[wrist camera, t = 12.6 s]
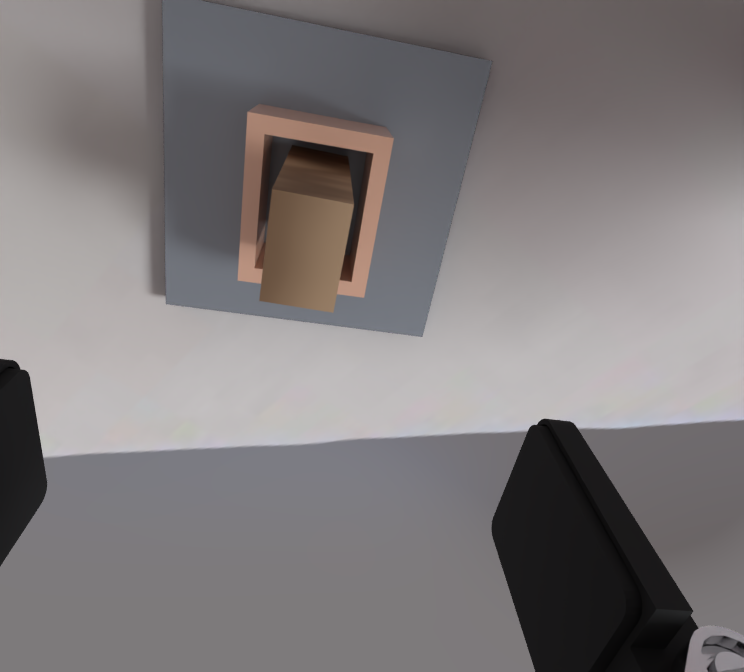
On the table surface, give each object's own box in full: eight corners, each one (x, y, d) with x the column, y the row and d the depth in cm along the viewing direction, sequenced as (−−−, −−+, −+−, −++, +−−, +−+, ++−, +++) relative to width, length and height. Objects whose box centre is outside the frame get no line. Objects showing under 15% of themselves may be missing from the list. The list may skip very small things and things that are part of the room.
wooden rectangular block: (348, 156, 28) (354, 204, 19) (333, 236, 30) (333, 312, 21) (292, 144, 27) (272, 188, 19) (281, 226, 29) (259, 300, 21)
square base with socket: (487, 60, 27) (522, 62, 22) (420, 329, 34) (434, 376, 29) (168, -6, 25) (125, -21, 20) (170, 297, 32) (140, 342, 27)
